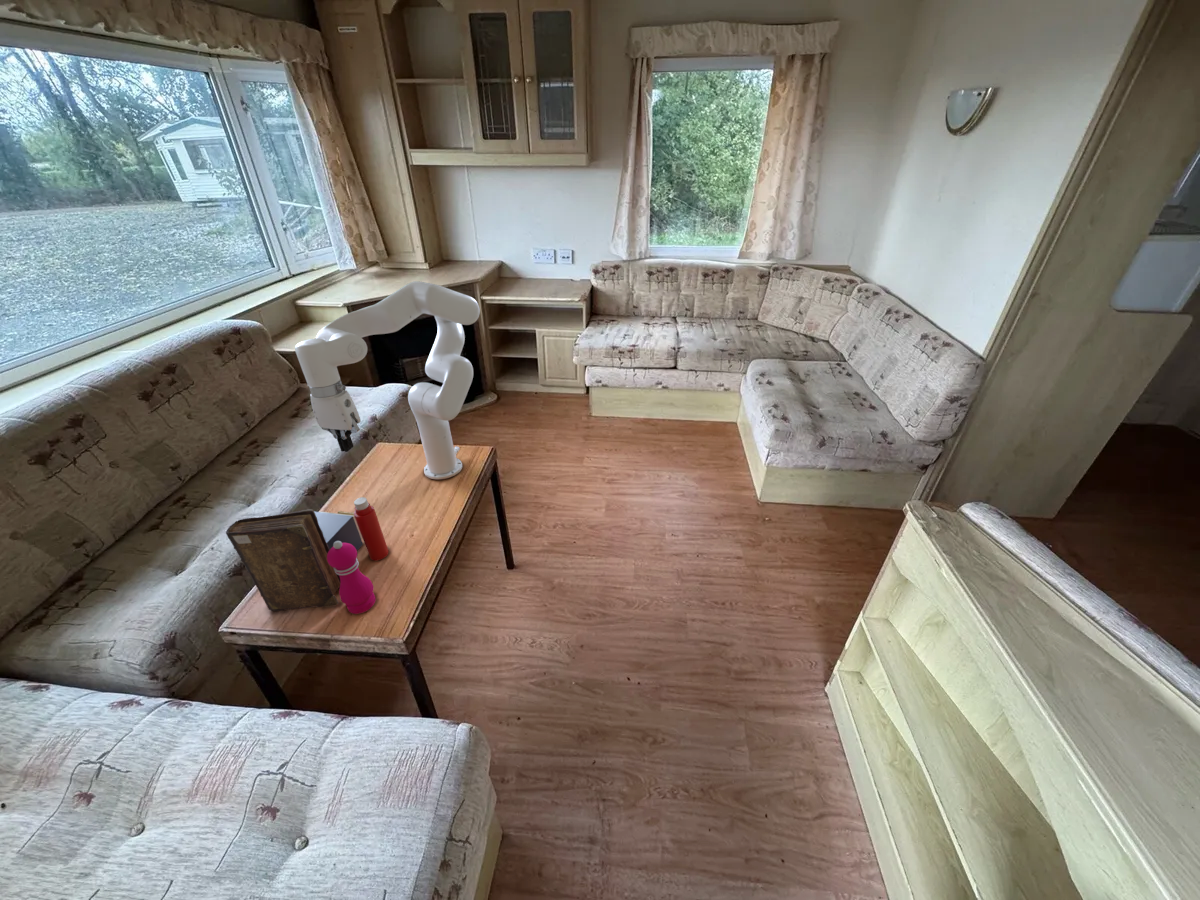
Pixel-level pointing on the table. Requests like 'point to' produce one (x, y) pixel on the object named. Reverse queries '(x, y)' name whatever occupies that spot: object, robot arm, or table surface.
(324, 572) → the book
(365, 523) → the ketchup bottle
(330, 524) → the dark blue angular piece
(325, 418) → the robot arm
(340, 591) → the pepper mill
